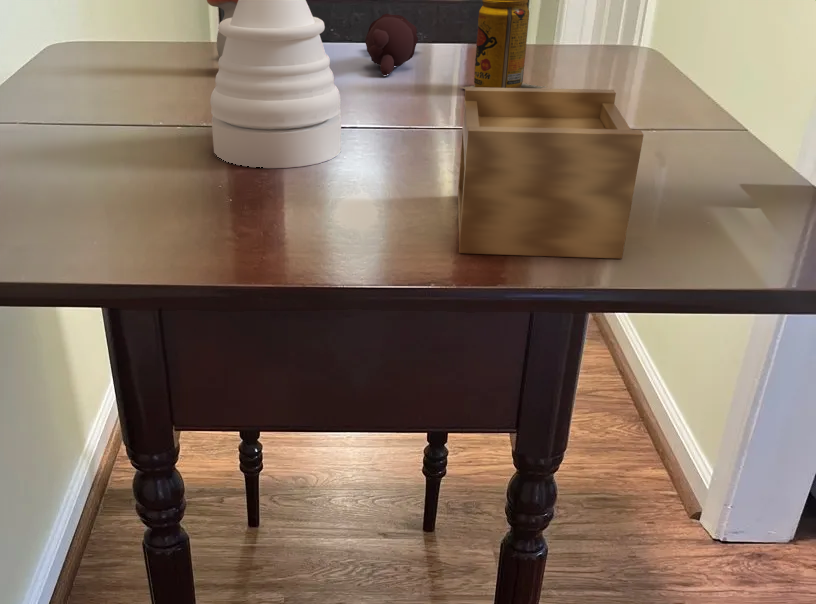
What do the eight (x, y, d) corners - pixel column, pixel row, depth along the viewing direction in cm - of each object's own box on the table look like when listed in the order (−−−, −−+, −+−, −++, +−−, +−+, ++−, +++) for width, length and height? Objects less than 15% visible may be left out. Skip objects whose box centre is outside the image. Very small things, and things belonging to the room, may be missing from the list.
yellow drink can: (458, 89, 116) (465, -18, 110) (506, 80, 120) (515, -23, 114) (500, 99, 111) (510, -12, 105) (548, 89, 116) (560, -18, 109)
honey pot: (240, 175, 86) (226, -44, 76) (197, 142, 96) (179, -56, 86) (363, 157, 91) (365, -51, 81) (310, 128, 100) (306, -61, 90)
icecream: (370, 8, 131) (346, 35, 120) (420, -5, 129) (401, 21, 117) (381, 58, 135) (360, 89, 124) (430, 46, 132) (413, 77, 121)
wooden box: (597, 199, 80) (613, 89, 75) (622, 259, 68) (644, 134, 63) (457, 195, 81) (465, 87, 76) (459, 253, 69) (467, 130, 64)
